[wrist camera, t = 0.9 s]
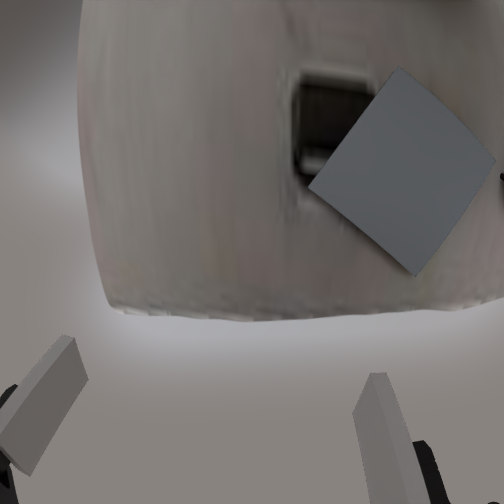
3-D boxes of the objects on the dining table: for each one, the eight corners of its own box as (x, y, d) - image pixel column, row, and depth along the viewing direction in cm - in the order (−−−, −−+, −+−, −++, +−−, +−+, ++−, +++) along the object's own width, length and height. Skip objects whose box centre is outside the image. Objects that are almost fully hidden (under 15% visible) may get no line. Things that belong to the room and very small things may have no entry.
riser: (391, 74, 28) (398, 65, 25) (482, 160, 28) (495, 160, 25) (307, 186, 34) (307, 187, 31) (406, 268, 34) (415, 277, 30)
